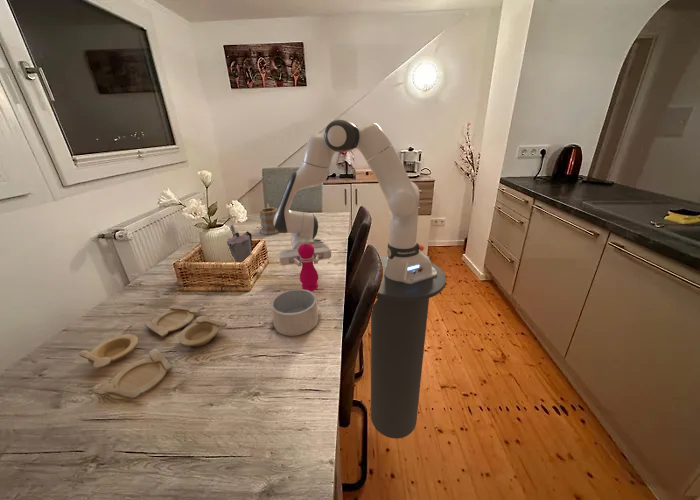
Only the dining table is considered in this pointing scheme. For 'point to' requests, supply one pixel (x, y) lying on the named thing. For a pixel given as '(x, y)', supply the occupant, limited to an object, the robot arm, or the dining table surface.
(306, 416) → the dining table surface
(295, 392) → the dining table surface
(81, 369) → the dining table surface
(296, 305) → the round grey bowl
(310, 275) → the pepper mill
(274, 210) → the tankard
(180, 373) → the dining table surface
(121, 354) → the tableware set
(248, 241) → the moka pot
